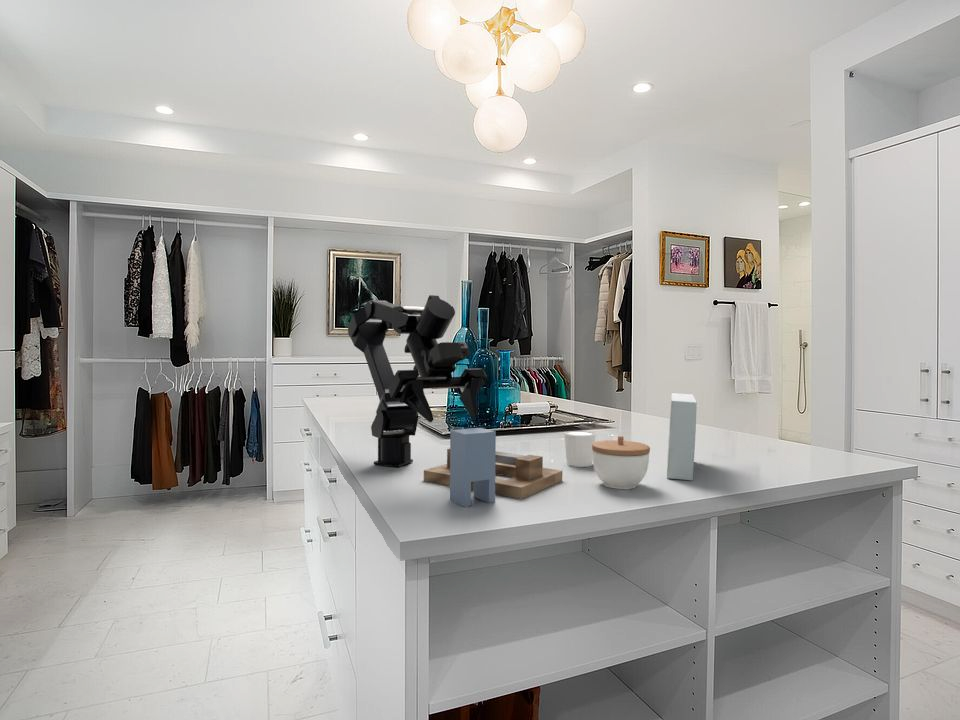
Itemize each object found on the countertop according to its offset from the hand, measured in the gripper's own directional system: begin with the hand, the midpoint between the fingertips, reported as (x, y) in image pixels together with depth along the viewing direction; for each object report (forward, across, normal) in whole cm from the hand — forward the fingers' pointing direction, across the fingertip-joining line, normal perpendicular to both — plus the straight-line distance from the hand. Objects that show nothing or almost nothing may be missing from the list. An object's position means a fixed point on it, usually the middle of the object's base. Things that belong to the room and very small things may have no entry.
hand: (454, 419), depth 103 cm
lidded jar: (+19, +29, -1) cm, 35 cm away
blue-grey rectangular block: (+15, -1, +3) cm, 15 cm away
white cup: (+6, +36, +13) cm, 38 cm away
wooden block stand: (+8, +10, +10) cm, 17 cm away
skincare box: (+17, +51, +2) cm, 54 cm away
